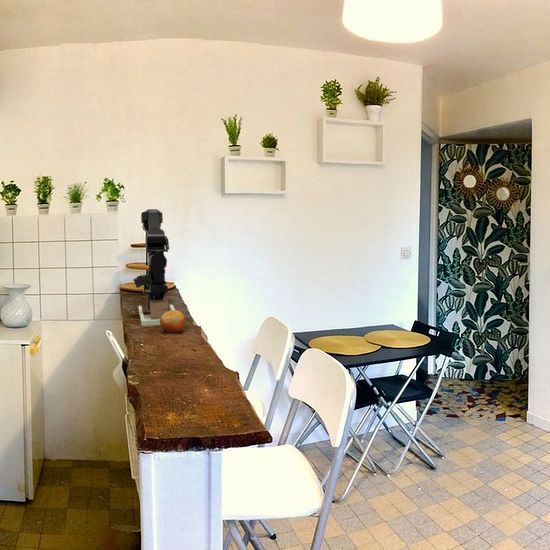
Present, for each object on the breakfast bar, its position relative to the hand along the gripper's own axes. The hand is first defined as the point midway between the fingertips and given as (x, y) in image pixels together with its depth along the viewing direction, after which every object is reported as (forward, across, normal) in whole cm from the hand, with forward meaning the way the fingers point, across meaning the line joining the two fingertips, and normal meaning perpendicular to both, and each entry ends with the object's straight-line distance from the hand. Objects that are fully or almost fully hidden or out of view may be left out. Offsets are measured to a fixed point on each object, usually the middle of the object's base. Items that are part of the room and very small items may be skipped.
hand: (157, 308), depth 191 cm
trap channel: (+3, +2, 0) cm, 4 cm away
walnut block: (+2, +5, 0) cm, 6 cm away
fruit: (+4, +26, +3) cm, 26 cm away
